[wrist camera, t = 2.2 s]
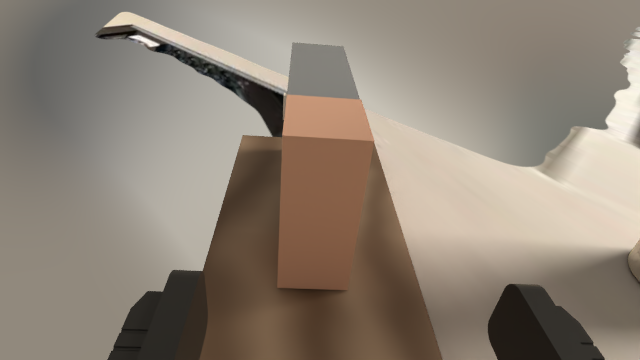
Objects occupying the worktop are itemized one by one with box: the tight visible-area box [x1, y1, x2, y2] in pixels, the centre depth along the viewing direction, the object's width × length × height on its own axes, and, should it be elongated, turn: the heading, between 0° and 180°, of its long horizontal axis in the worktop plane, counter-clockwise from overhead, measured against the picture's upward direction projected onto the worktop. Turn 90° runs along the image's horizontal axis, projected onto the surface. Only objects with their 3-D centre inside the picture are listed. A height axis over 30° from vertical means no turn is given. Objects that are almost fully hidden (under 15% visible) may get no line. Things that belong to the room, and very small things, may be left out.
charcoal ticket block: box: [282, 43, 360, 136], centre depth 36 cm, size 5×14×12 cm, turn 2°
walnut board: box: [200, 135, 442, 360], centre depth 34 cm, size 16×32×2 cm, turn 2°
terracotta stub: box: [277, 95, 374, 290], centre depth 27 cm, size 5×6×12 cm
